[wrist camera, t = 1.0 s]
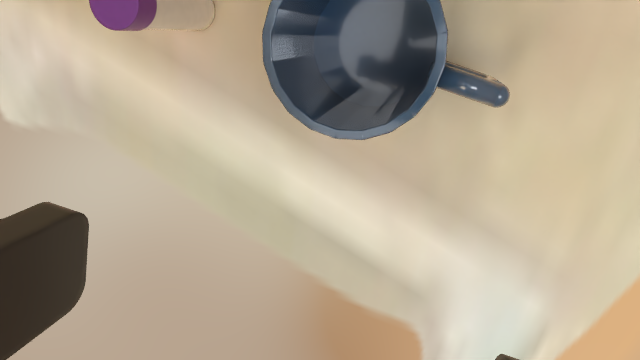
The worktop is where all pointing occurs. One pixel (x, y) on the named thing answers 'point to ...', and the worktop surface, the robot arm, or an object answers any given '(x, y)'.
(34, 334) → the robot arm
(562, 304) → the worktop surface
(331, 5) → the mug
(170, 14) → the glue stick
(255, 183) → the worktop surface
